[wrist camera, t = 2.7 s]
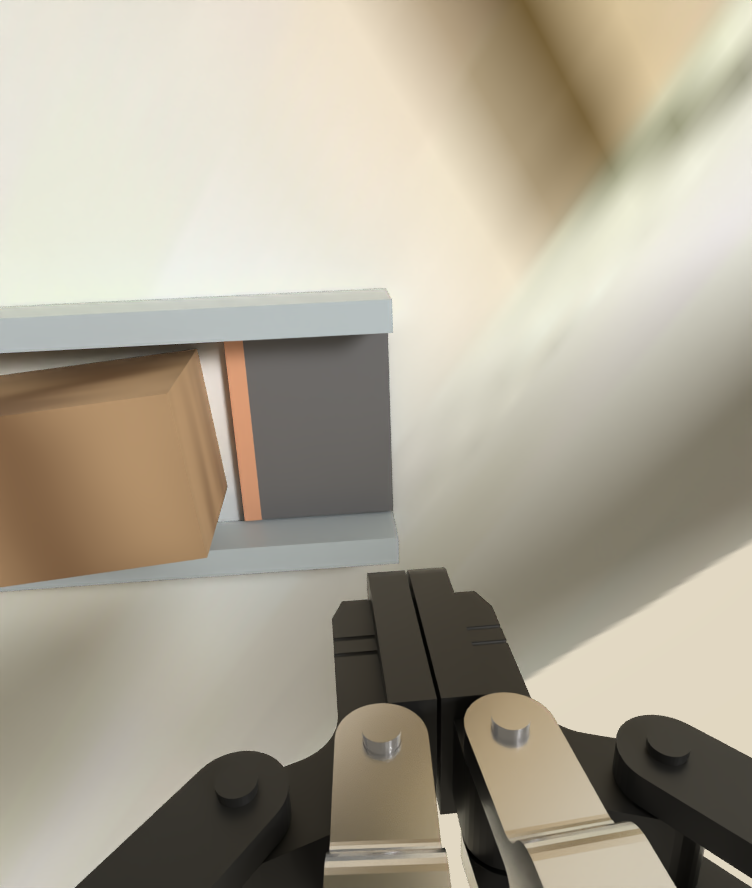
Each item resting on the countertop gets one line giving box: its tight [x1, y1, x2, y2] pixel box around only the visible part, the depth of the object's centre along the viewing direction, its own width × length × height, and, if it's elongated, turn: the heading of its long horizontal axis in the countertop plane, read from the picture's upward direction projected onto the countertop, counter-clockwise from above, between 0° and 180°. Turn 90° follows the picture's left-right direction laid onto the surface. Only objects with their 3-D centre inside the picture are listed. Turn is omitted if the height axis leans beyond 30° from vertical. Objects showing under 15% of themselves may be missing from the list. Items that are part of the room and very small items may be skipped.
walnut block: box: [0, 349, 227, 587], centre depth 21 cm, size 8×5×5 cm, turn 97°
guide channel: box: [0, 288, 399, 592], centre depth 23 cm, size 20×9×2 cm, turn 92°
